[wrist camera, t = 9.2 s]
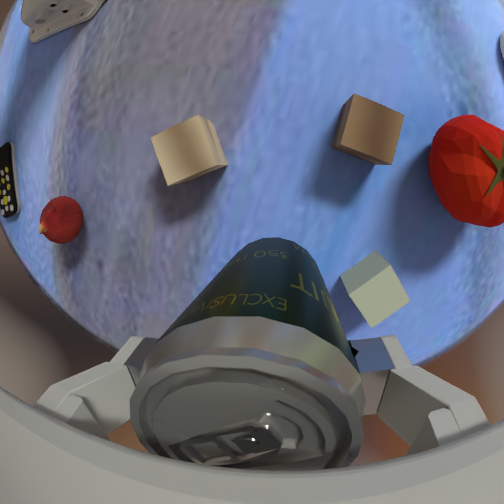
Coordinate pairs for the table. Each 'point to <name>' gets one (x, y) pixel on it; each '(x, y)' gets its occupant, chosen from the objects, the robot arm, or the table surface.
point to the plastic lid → (502, 44)
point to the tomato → (469, 170)
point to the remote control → (9, 181)
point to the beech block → (189, 150)
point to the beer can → (254, 371)
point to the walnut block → (368, 130)
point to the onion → (61, 220)
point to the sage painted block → (374, 288)
